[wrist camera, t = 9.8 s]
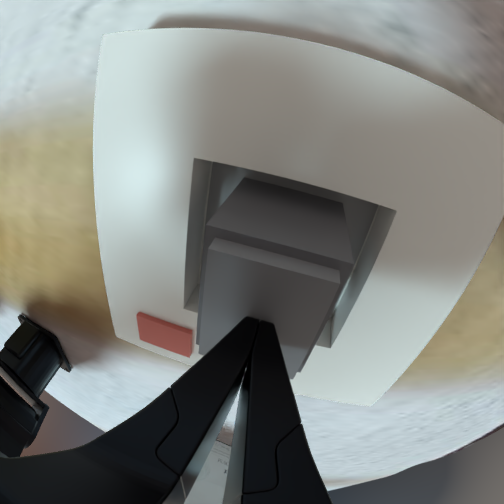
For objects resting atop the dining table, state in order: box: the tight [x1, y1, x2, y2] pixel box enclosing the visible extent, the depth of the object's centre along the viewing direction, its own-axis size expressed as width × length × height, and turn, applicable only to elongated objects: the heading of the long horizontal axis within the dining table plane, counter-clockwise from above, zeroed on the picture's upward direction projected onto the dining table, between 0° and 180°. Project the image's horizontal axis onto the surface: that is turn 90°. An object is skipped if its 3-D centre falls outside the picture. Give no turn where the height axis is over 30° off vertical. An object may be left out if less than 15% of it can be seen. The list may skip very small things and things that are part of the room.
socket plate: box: [93, 28, 504, 407], centre depth 12 cm, size 16×16×3 cm
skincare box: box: [184, 440, 231, 504], centre depth 24 cm, size 10×6×10 cm, turn 56°
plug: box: [196, 177, 354, 379], centre depth 10 cm, size 5×4×5 cm
